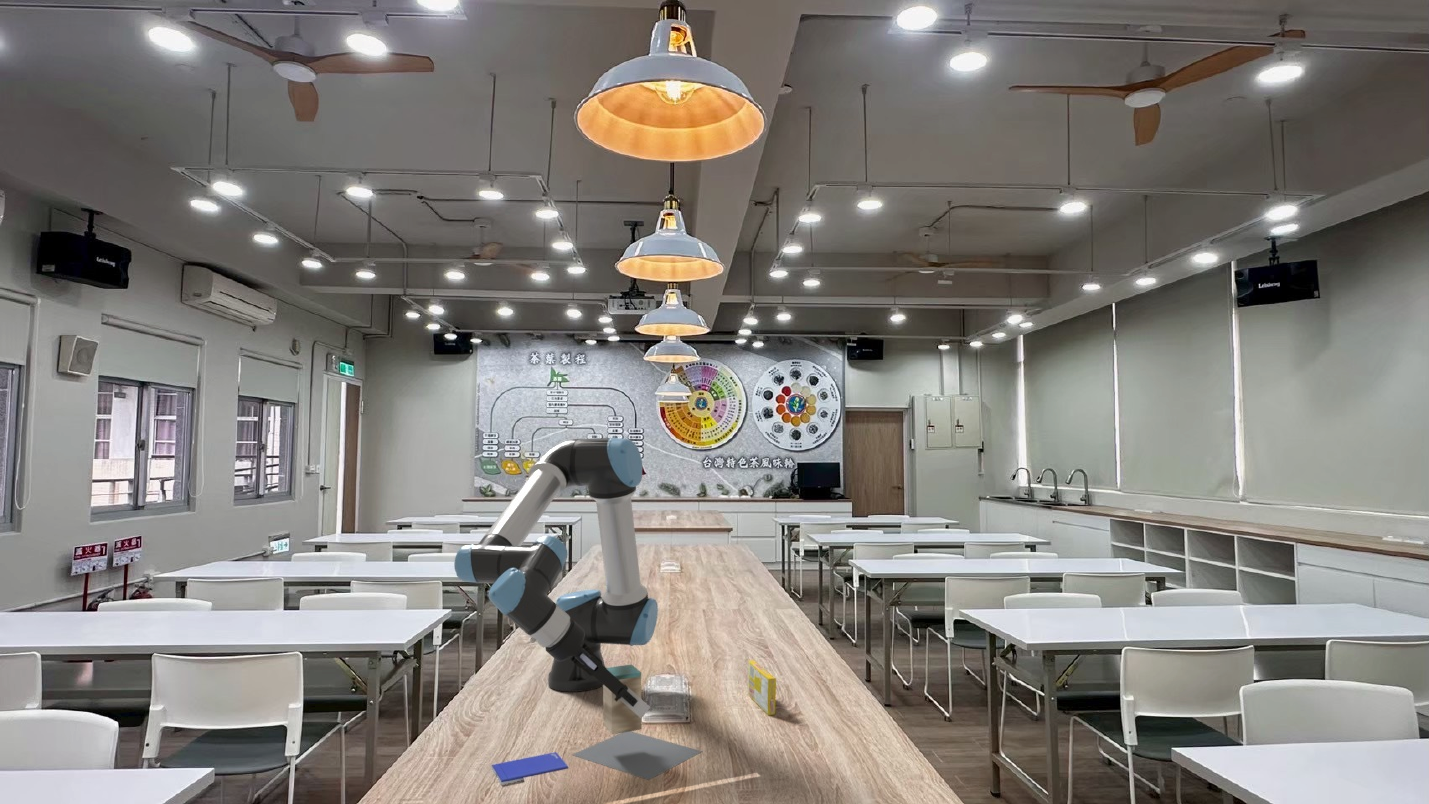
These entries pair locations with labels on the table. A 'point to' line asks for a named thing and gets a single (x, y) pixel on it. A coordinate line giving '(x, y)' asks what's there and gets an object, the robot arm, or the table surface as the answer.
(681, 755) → the slate mat
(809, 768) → the table surface
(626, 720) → the maple block
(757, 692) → the candy box
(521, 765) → the hard drive
